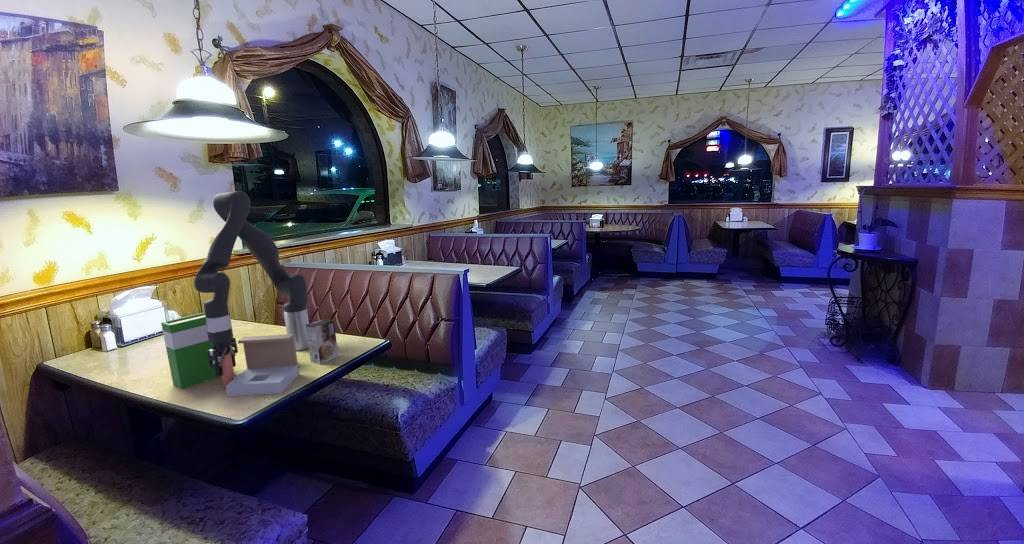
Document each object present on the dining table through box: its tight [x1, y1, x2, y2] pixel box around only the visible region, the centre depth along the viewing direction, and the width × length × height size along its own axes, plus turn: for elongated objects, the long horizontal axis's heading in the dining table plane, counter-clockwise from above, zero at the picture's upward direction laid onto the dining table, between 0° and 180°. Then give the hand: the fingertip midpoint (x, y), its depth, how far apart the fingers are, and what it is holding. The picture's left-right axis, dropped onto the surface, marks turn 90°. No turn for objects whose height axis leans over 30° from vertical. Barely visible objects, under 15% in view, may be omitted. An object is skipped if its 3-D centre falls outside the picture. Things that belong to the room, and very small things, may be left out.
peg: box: [220, 353, 236, 389], centre depth 166 cm, size 4×4×12 cm
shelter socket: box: [225, 333, 300, 397], centre depth 166 cm, size 16×18×16 cm
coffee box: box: [306, 318, 339, 365], centre depth 188 cm, size 9×6×16 cm
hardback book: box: [160, 312, 219, 390], centre depth 173 cm, size 18×7×24 cm, turn 145°
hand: (226, 371), depth 166 cm, fingers open, 8 cm apart
